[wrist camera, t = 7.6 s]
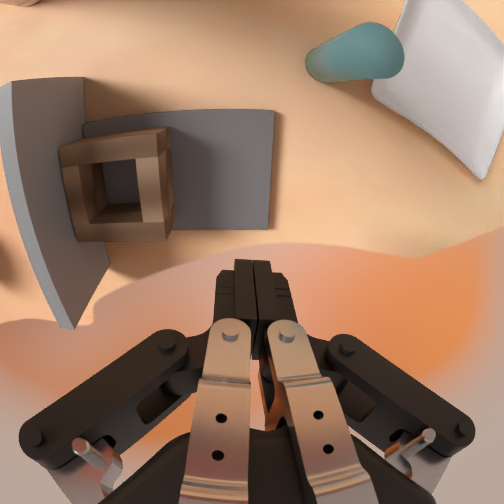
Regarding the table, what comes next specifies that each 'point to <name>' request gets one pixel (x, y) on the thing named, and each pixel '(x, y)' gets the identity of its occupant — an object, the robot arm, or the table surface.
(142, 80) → the table surface
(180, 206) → the rail plate
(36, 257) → the backstop wall
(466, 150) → the salad plate
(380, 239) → the table surface
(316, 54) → the teal rounded bar piece
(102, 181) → the block
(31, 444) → the robot arm
